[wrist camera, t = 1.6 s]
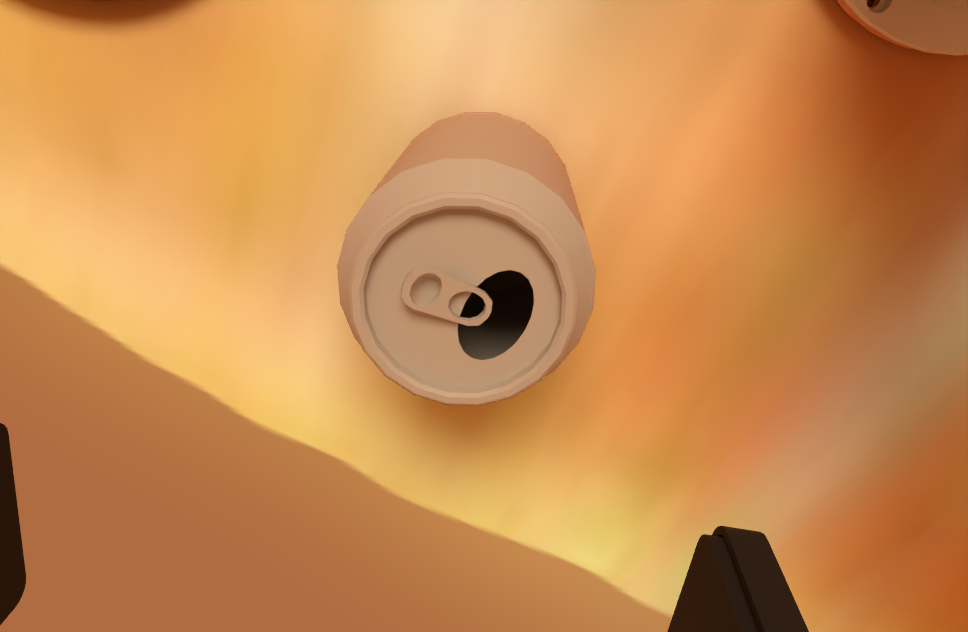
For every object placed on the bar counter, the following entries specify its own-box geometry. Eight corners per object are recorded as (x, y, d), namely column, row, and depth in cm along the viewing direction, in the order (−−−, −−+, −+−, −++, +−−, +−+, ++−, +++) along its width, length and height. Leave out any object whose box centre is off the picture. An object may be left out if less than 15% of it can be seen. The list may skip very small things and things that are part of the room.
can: (517, 312, 33) (518, 469, 22) (363, 236, 32) (281, 360, 21) (605, 163, 30) (657, 254, 19) (440, 73, 29) (393, 115, 18)
